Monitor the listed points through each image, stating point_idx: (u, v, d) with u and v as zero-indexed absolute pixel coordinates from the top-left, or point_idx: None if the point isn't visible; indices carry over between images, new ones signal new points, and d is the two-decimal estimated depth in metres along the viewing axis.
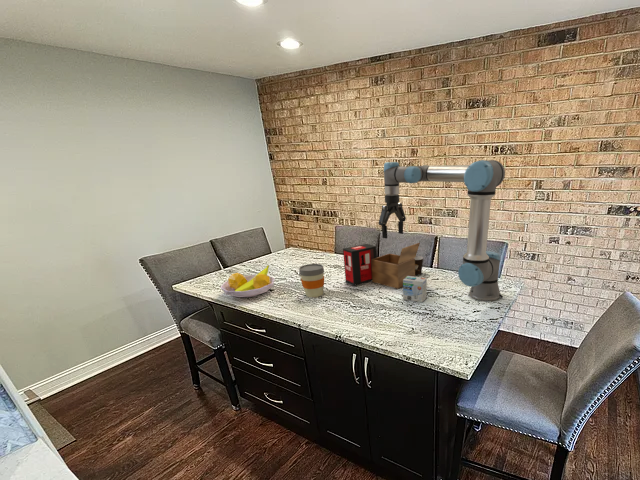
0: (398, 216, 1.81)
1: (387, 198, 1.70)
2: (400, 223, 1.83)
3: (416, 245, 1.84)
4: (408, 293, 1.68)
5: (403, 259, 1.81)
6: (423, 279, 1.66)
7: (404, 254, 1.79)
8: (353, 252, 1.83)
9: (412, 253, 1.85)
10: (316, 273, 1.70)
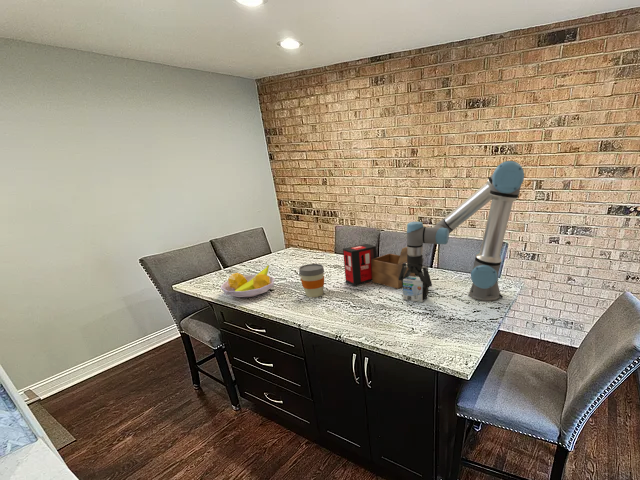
0: None
1: None
2: None
3: None
4: (408, 293, 1.68)
5: (403, 259, 1.81)
6: None
7: (404, 254, 1.79)
8: (353, 252, 1.83)
9: None
10: (316, 273, 1.70)
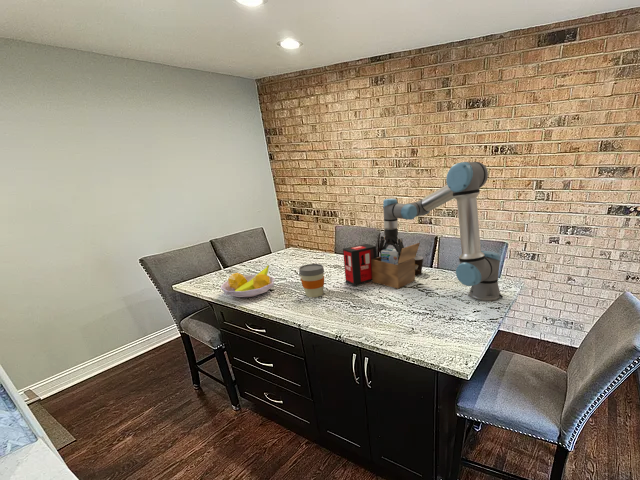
0: None
1: None
2: None
3: (416, 245, 1.84)
4: None
5: (403, 259, 1.81)
6: None
7: (404, 254, 1.79)
8: (353, 252, 1.83)
9: (412, 253, 1.85)
10: (316, 273, 1.70)
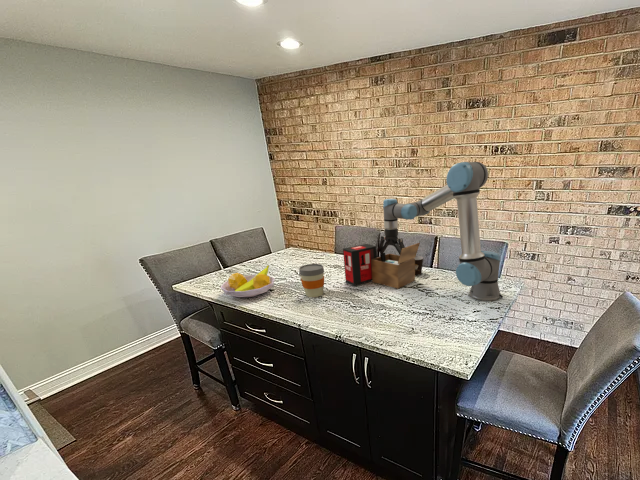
0: None
1: None
2: None
3: (416, 245, 1.84)
4: None
5: (403, 259, 1.81)
6: None
7: (404, 254, 1.79)
8: (353, 252, 1.83)
9: (412, 253, 1.85)
10: (316, 273, 1.70)
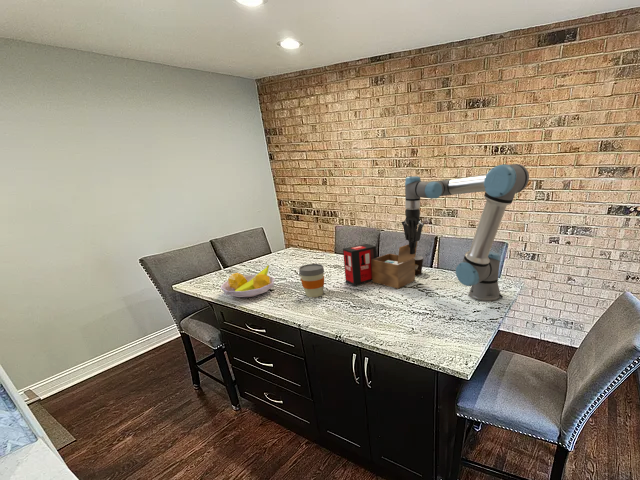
0: None
1: None
2: None
3: None
4: None
5: (403, 259, 1.81)
6: None
7: (403, 253, 1.79)
8: (353, 252, 1.83)
9: None
10: (316, 273, 1.70)
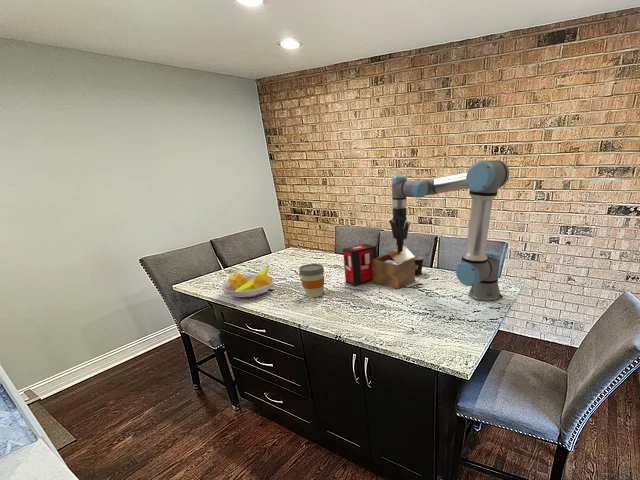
0: None
1: None
2: None
3: None
4: None
5: (400, 259, 1.82)
6: (399, 263, 1.90)
7: (395, 255, 1.83)
8: (353, 252, 1.83)
9: (406, 254, 1.88)
10: (316, 273, 1.70)
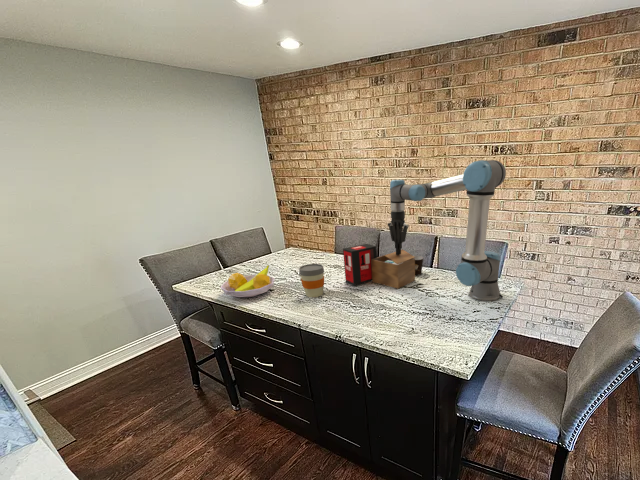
0: None
1: None
2: None
3: None
4: None
5: (399, 260, 1.83)
6: None
7: (394, 257, 1.84)
8: (353, 252, 1.83)
9: (405, 255, 1.89)
10: (316, 273, 1.70)
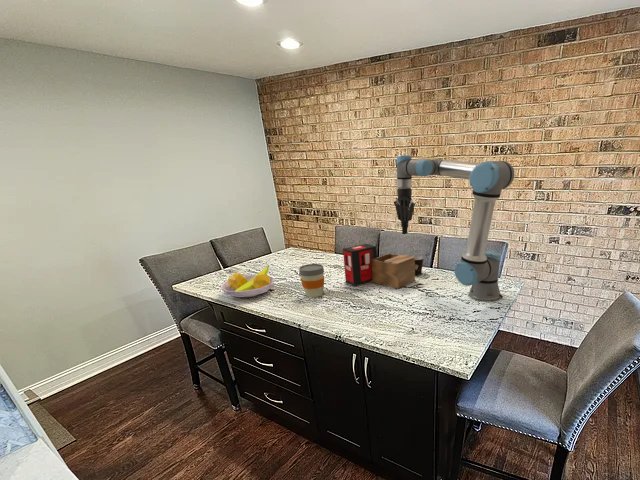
0: None
1: None
2: None
3: (400, 255, 1.93)
4: None
5: (399, 261, 1.83)
6: None
7: (394, 260, 1.84)
8: (353, 252, 1.83)
9: (404, 257, 1.89)
10: (316, 273, 1.70)
